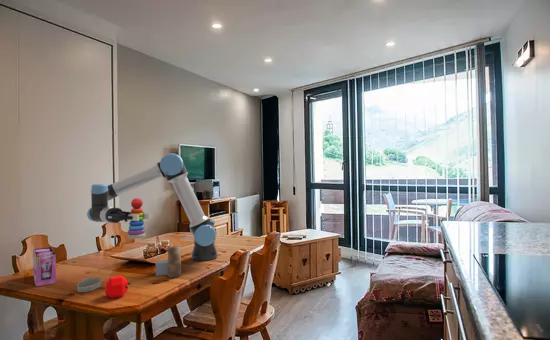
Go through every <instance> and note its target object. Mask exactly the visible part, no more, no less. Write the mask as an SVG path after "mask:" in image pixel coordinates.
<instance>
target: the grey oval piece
mask: <svg viewBox="0 0 550 340" xmlns="http://www.w3.org/2000/svg"><path fill="white" fill-rule="evenodd" d="M76 287H77V288H76V289H77V292H78V293H86V292H92V291H94V290H97V289H98V288H100V287H101V279H100V278H98V277H91V276H89V277H85V278H84V279H83V280H82V281H80V282H78V284H76Z"/></svg>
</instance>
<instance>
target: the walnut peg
mask: <svg viewBox="0 0 550 340" xmlns="http://www.w3.org/2000/svg"><path fill="white" fill-rule="evenodd" d="M167 260H168V275H167V277H168V278H170V279H177V278H180V277H182V246H179V245H173V246H168V247H167Z"/></svg>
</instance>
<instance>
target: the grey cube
mask: <svg viewBox="0 0 550 340" xmlns="http://www.w3.org/2000/svg"><path fill="white" fill-rule="evenodd" d="M159 276H168V259H164V260H163V259H162V260H156V261H155V277H159Z"/></svg>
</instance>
